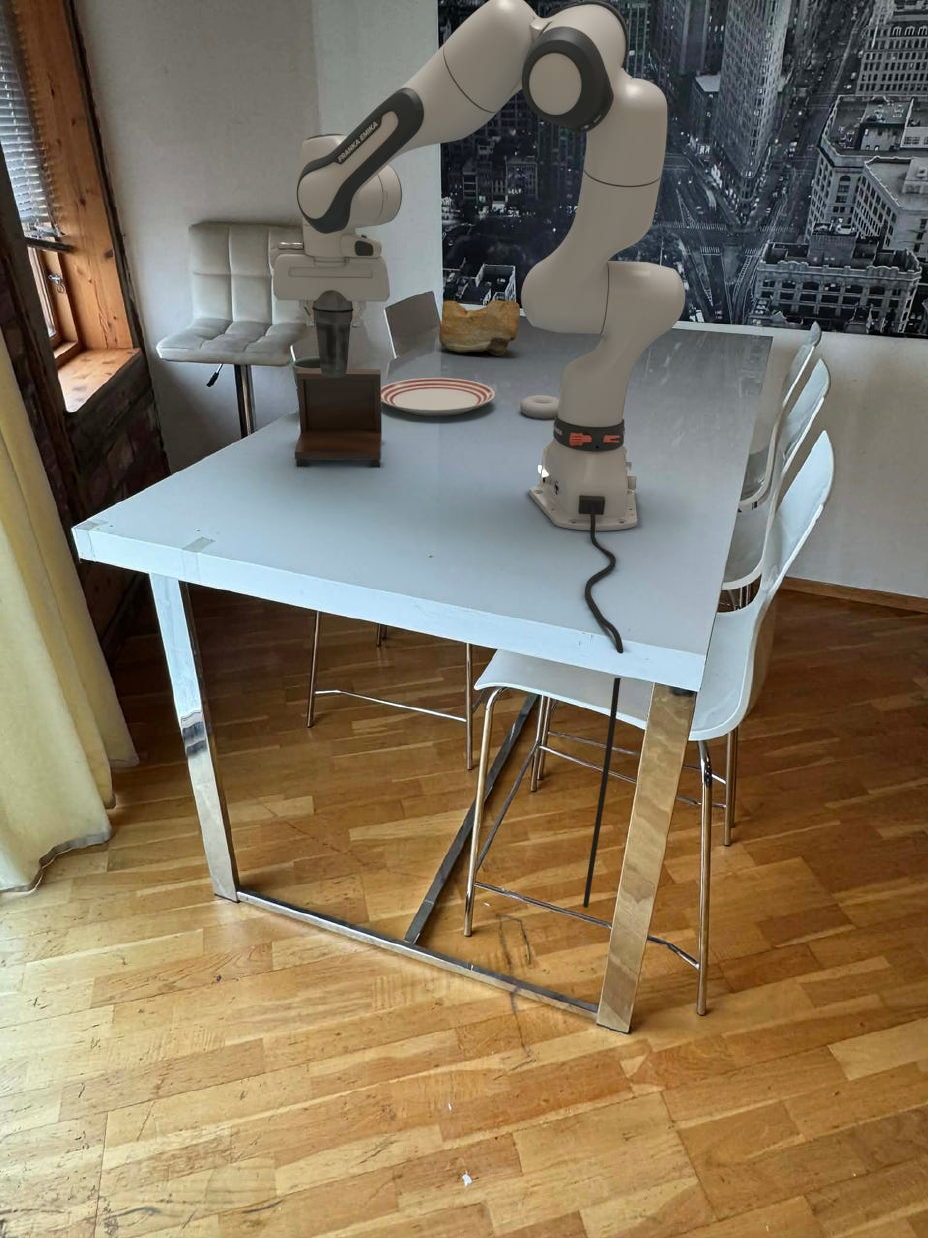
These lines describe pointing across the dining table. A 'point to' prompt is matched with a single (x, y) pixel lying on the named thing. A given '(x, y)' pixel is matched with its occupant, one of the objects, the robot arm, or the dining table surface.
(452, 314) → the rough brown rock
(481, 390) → the dinner plate
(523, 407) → the donut
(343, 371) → the beverage cup
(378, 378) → the shelf
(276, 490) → the dining table surface
